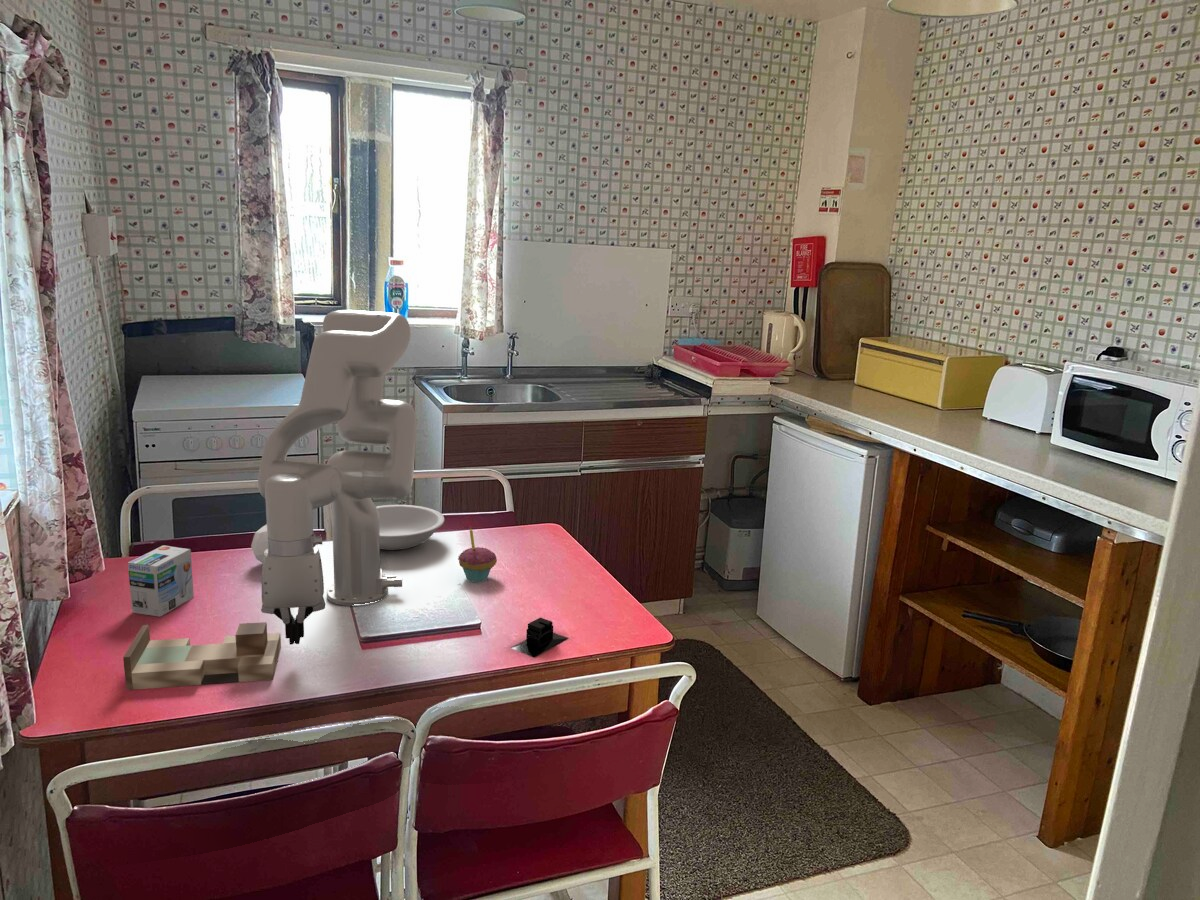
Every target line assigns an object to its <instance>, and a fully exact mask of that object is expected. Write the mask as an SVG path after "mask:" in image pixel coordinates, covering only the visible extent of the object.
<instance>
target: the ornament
mask: <svg viewBox="0 0 1200 900" xmlns="http://www.w3.org/2000/svg"><path fill="white" fill-rule="evenodd" d="M250 547H251V550H252V552H253V555H254V557H255V559H256V560H257V561H259V562H260V563H262V564H263V557H264V552H265V550H267V549H268V539H267V523H266V524H265V525H263V526H261V527H260V528H259V529H258V530H257V531H256V532H254V534H253V538H252V542H251V545H250Z"/></svg>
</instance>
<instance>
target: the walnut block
mask: <svg viewBox="0 0 1200 900" xmlns="http://www.w3.org/2000/svg"><path fill="white" fill-rule="evenodd" d="M267 625H268V623H267V622H266V621H265V622H263V621H262V622H246V623H243V622H242V623H239V625H238V627H237V630H236V633H235V635H236V651H237V656H246V655H261V654H264V653H265V650H266V647H267V643H268V640H267V633H268V626H267Z"/></svg>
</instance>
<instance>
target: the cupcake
mask: <svg viewBox="0 0 1200 900" xmlns="http://www.w3.org/2000/svg"><path fill="white" fill-rule="evenodd" d="M469 536H470V543H471V547H469V548H466V549H465V550H463V551H462V552H461V553H460V554H459V555H458V558H457V561H458V563H459V566H460V567H461V568H462V570H463V572H464V575H465V578H466V580H467V581H469V582H471V583H482V582H486V581H487V580H488V578H489V575H490V572H491V570H492V569H493V567H494V566H495V565H496V564H497V560H498V559H497V555H496V554H495V552H494V551H492V550H491V549H489V548H487V547H483V546H481V547H479V546H477V547H475V546H476V545H475V539H474V530H473V529H472V527H471V526H469Z"/></svg>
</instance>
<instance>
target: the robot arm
mask: <svg viewBox="0 0 1200 900" xmlns="http://www.w3.org/2000/svg"><path fill="white" fill-rule="evenodd" d="M322 331H323V332H320V333H319V334H318V335H317V336H316V337H315V338H314V340H313V343H312V345H311V346H312V347H311V350H310V355H309V360H308V364H307V367H306V373H305V378H304V382H303V388H302V392H301V397H300V400H299V404H298V405H297V406H296V407H295V408H294V409H293V410H292V411H291V412H290V413H288V414H287V415H286V416H285V417H283V419H282V420H281V421H280V422H279V423H277V425H276V426H275V427H274V428H273V430H272V431H271V433H270V434H269V436H268V437H267V439H266V442H265V444H264V447H263V450H262V456H261V459H260V463H259V469H258V476H257V486H258V491H259V492H260V495H261V497H263V498H264V500H265V515H266V524H267V539H268V549H267V550H265V552H264V557H263V563H262V569H261V603H262V604H261V607H260V612H261V613H263V614H268V615H275V616H276V617H277V618H279V619H280V620H281V621H282V623H283V624H284V630H285V633H284V635H285V639H289V640H288V641H289V645H300V641H301V638H304V637H305V624H304V623H305V620H306V619H307V618H308V617H309V616H310V615H311V614H312V613H316V612H319V611H323V610H324V609H325V608H326V601H325V598H324V593H325V591H324V590H325V586H324V585H325V583H324V572H323V570H324V569H323V564H322V563H323V562H322V559H321V553H320V550H319V549H320V548H318V547H317V546H318V545H323V536H318V535H316V534H315V533H314V517H313V515H314V514H313V510H314V509H318V508H322V507H325V506H327V505H330V508H331V522H332V524H331V526H332V552H333V555H332V556H333V557H332V558H333V584H331V586H330V587H328V588H327V590H326V598H327V600H328V601H329V602H331V603H333V604H335V605H339V606H345V607H353V606H352V605H354V604H365V603H370V602H375V601H378V600H380V601H382V600H384V599H385V598H386V597H387V596H388V594H389V588H402V587H403V577H397V574H390V575H386V574H383V569H382V568H381V549H380V520H379V513H378V510H377V508H376V504H375V503H374V502H373V500H372V499H380V500H381V499H382V500H402V499H405V498H407V496H408V495H409V494H410V493H411V490H412V487H413V482H414V481H413V480H414V472H415V460H416V459H415V457H416V445H417V431H418V430H417V426H418V425H417V424H418V423H417V422H418V421H417V415H416V412H415V409H414V408H413V406H412V404H410V403H408V402H406V401H405V400H398V399H385V398H383V389H384V388H383V386H384V376H385V375H387V374H388V373H389V372H390V371H391V370H392V368H393V367H394V366H395V365H396V363H398V361H399V360H400V359H401V357H402V356H403V355H404V354H405V353H406V351H407V350H408V347H409V344H410V340H411V327H410V324H409V321H408V320H407V318H406V317H405V316H403V314H401V313H396V312H388V311H387V312H386V311H370V310H359V309H357V310H356V309H339V310H333V311H330V312H327V314H326V315H325V316H324V318H323V322H322ZM335 423H337V432H338V435H339V437H340V438H341V439H342V440H343V441H344V442H347V443H351V444H357V445H358V444H359V445H371V446H385V447H388V449H389V452H384V451H383V452H381V451H371V450H369V451H368V450H360V449H359V450H357V449H356V450H355V449H347V450H346V449H345V450H340V451H337V452H334V453H333V454H332V455H331V456H330V457H329V458H328V460H327V461H326V463H319V462H318V463H316V462H305V461H292V460H287V456H288V454H289V452H290V450H291V448H292V447H293V446H294V444H296V442H297V441H299V439H301V438H302V437H304V436H306V435H307V434H309V433H311V432H314V431H316V430H319V429H321V428H324V427H327V426H330V425H331V424H335ZM384 597H385V598H384ZM383 598H384V599H383ZM381 599H382V600H381ZM378 602H379V601H378ZM291 608H292V609H294V608H297V614H296V616H295V617H294V616H293V614H292V611H291Z"/></svg>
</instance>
